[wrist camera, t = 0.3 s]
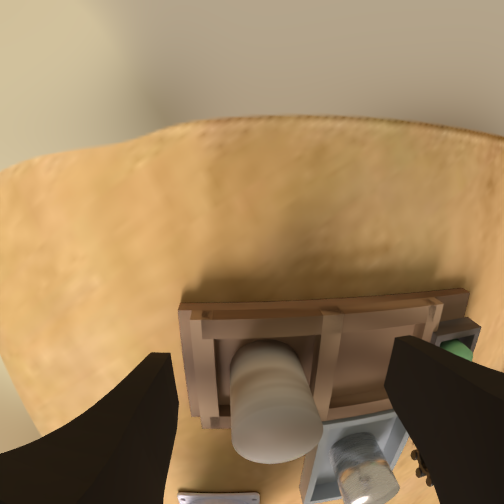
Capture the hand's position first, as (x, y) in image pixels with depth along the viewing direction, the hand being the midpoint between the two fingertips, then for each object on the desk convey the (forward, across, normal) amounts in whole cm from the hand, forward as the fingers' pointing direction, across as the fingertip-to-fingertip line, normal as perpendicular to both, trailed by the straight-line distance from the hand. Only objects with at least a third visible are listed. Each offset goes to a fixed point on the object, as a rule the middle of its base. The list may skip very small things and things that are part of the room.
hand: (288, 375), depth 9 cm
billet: (+9, -8, +16) cm, 20 cm away
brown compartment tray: (+10, -5, +6) cm, 12 cm away
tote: (+10, -8, +16) cm, 21 cm away
